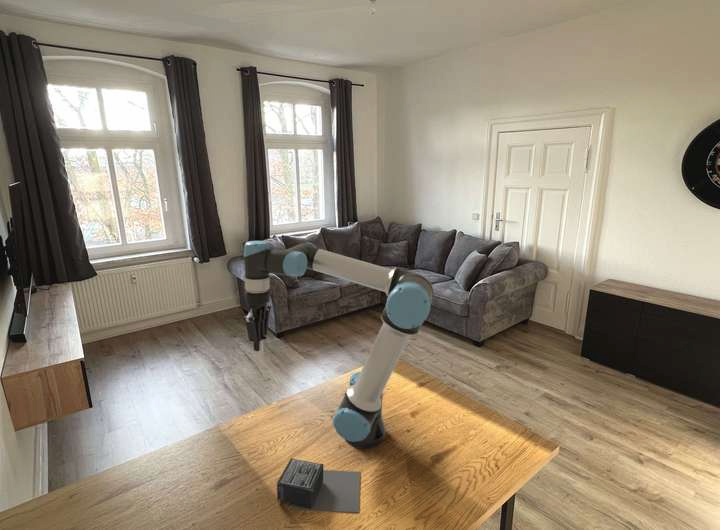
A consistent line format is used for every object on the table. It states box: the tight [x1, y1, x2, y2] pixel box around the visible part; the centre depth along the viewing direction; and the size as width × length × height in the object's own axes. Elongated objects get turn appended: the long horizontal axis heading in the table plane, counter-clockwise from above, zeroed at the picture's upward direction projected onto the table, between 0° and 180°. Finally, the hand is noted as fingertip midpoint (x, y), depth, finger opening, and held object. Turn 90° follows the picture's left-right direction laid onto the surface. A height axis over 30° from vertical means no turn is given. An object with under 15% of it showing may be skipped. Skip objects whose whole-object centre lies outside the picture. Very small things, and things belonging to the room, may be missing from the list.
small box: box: [276, 458, 324, 508], centre depth 112 cm, size 11×6×10 cm
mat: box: [289, 469, 361, 514], centre depth 114 cm, size 19×15×1 cm
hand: (258, 358), depth 129 cm, fingers closed
